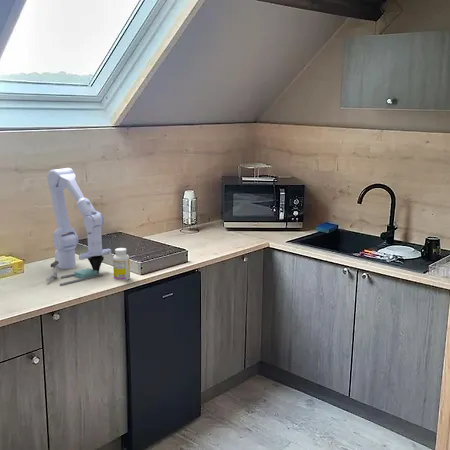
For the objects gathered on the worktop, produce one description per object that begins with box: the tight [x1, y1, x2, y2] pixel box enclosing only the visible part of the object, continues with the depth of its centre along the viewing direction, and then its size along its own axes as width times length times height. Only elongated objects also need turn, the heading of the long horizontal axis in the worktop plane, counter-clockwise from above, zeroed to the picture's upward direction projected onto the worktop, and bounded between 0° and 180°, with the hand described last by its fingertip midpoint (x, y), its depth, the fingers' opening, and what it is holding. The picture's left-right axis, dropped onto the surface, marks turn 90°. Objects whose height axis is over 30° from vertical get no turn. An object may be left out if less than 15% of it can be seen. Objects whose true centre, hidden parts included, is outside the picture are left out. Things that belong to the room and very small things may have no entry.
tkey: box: [45, 260, 59, 282], centre depth 232 cm, size 10×1×7 cm, turn 172°
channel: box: [59, 272, 103, 287], centre depth 236 cm, size 9×19×2 cm, turn 134°
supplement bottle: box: [112, 247, 131, 281], centre depth 236 cm, size 7×7×13 cm
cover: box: [74, 267, 98, 279], centre depth 239 cm, size 6×7×3 cm
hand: (96, 273), depth 242 cm, fingers closed
